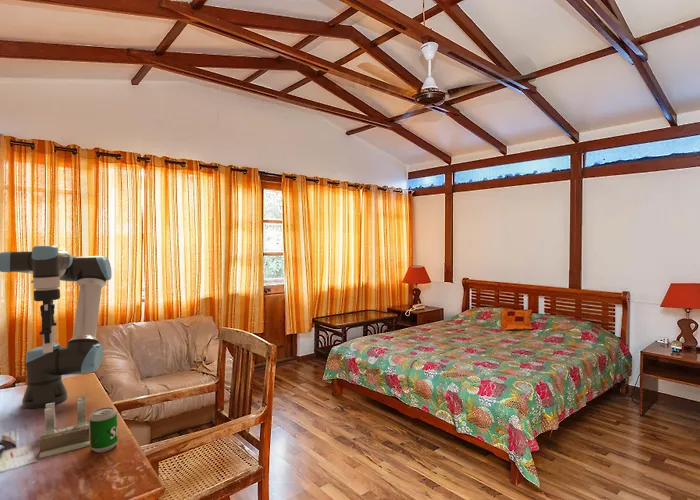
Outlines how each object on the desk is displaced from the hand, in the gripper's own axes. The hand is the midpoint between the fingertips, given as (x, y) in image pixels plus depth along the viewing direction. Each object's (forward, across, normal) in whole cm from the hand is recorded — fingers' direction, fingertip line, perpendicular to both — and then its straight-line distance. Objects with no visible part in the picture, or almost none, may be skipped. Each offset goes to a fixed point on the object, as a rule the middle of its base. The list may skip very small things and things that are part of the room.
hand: (49, 348), depth 145 cm
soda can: (+29, +28, +15) cm, 43 cm away
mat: (+29, +20, +4) cm, 35 cm away
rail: (+28, +20, +4) cm, 35 cm away
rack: (+29, +8, +4) cm, 30 cm away
